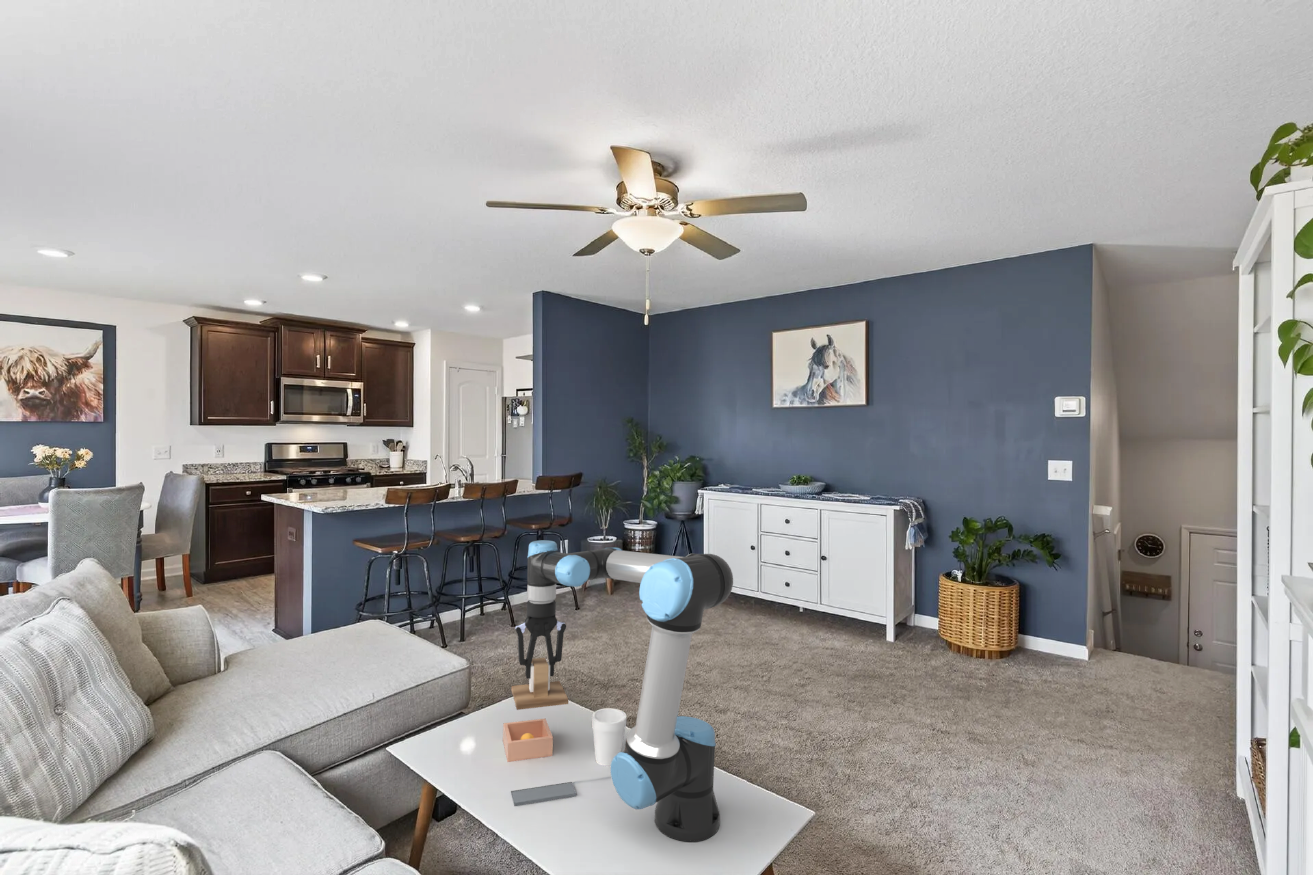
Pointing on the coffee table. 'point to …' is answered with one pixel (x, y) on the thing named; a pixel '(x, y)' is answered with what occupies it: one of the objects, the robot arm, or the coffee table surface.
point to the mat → (543, 793)
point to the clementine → (527, 736)
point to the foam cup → (608, 734)
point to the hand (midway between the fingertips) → (539, 689)
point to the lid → (539, 689)
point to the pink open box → (527, 740)
